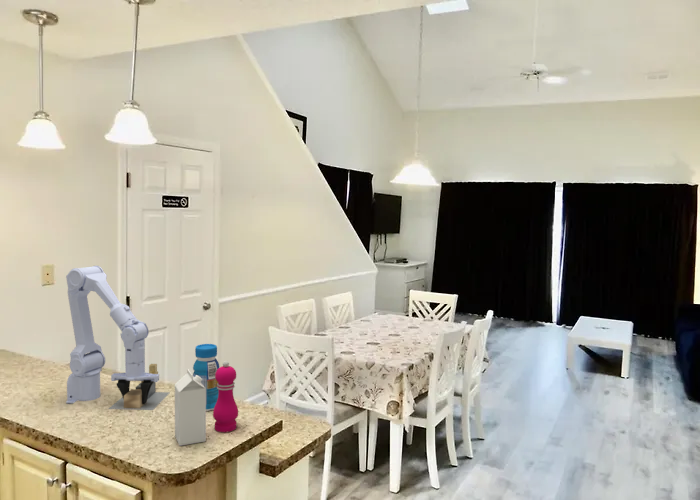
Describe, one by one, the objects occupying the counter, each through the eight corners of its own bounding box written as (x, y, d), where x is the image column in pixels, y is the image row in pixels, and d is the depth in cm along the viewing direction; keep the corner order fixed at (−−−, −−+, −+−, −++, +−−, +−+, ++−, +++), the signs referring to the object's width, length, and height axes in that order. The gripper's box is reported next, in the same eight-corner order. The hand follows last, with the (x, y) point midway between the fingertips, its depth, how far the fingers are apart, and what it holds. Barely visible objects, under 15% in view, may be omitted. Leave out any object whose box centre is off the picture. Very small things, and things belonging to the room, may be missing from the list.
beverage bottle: (190, 412, 170) (190, 349, 169) (195, 402, 179) (195, 342, 177) (217, 411, 171) (217, 349, 169) (221, 402, 179) (221, 342, 178)
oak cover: (123, 408, 170) (123, 395, 170) (131, 401, 176) (131, 389, 176) (139, 408, 170) (139, 395, 170) (147, 401, 176) (146, 389, 175)
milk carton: (179, 446, 146) (179, 377, 145) (174, 436, 152) (174, 370, 151) (206, 441, 149) (205, 374, 148) (200, 432, 156) (200, 367, 154)
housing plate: (108, 412, 169) (107, 396, 169) (129, 394, 185) (129, 379, 184) (152, 413, 169) (152, 397, 168) (170, 395, 185) (170, 380, 184)
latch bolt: (141, 384, 180) (141, 371, 179) (152, 374, 190) (152, 362, 189) (147, 384, 180) (147, 371, 179) (158, 374, 190) (158, 363, 189)
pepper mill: (225, 435, 154) (225, 366, 152) (207, 429, 158) (207, 361, 156) (243, 426, 160) (243, 360, 158) (225, 421, 164) (225, 356, 162)
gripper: (106, 364, 168) (107, 406, 169) (153, 365, 168) (153, 408, 169) (116, 357, 175) (117, 398, 176) (161, 358, 175) (161, 399, 176)
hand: (135, 402), depth 173 cm, fingers closed on oak cover, 5 cm apart
